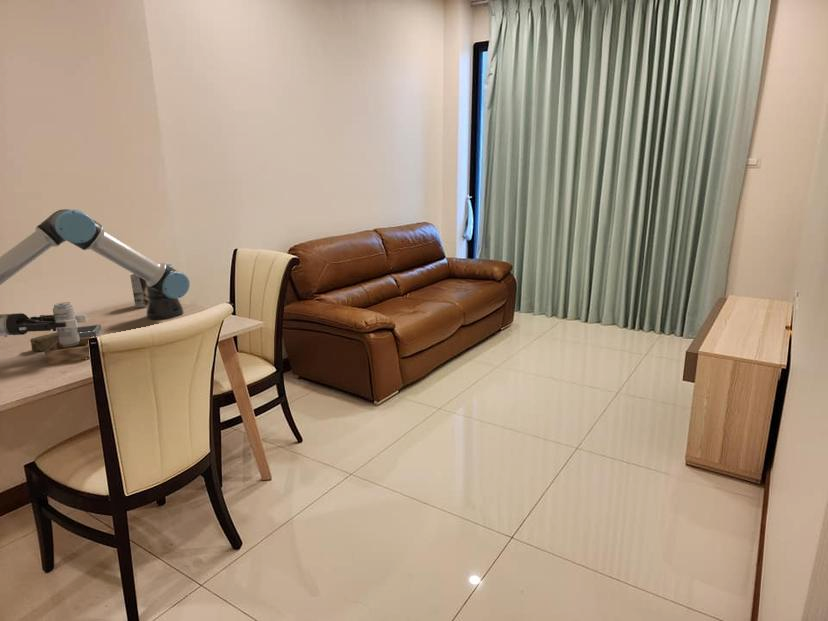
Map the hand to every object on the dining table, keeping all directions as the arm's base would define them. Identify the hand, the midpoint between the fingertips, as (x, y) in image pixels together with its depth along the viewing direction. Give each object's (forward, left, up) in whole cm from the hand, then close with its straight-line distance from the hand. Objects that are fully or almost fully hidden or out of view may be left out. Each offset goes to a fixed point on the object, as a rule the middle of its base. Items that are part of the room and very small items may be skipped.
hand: (81, 320), depth 184 cm
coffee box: (-12, -72, -13) cm, 75 cm away
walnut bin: (+5, -1, -13) cm, 14 cm away
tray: (+7, -28, -13) cm, 32 cm away
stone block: (+16, -17, -13) cm, 27 cm away
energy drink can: (+5, -1, -9) cm, 10 cm away
